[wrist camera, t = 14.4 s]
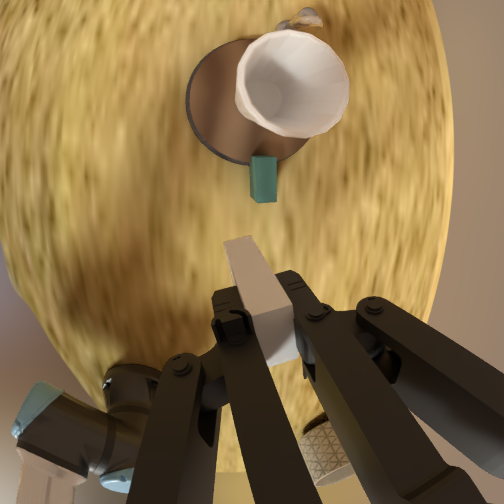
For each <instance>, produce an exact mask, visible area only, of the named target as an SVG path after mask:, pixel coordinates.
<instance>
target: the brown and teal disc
mask: <svg viewBox="0 0 504 504" xmlns="http://www.w3.org/2000/svg"><path fill="white" fill-rule="evenodd" d="M255 40H257V39H245V40H239V41H235V42H231V43H229V44H226V45H224V46H222V47H220V48H219V49H217V50H216V51H214V52H213V53H212V54H210V55H209V56H208V57H207V58H206V59H205V60H204V61H203V63H202V64H201V65H200V67H199V68H198V70H197V72H196V74H195V76H194V79H193V81H192V85H191V90H190V110H191V114H192V118H193V121H194V123H195V126H196V127H197V129H198V131H199V133H200V134H201V135H202V137H203V138H204V139H205V140H206V141H207V142H208V143H209V144H210V145H211V146H212V147H213V148H215V149H216V150H217V151H219V152H220V153H222V154H224V155H226V156H228V157H230V158H233V159H235V160H239V161H242V162H248V163H249V164H250V196H251V197H252V198H253V199H254V200H255V201H256V202H257V203H269V202H277V160H280V159H283V158H285V157H287V156H289V155H291V154H293V153H294V152H296V151H297V150H299V149H300V148H301V147H302V146H303V145H304V144H305V143H306V142H307V141H308V140H309V138H310V137H309V138H296V137H284V136H281V135H279V134H276V133H274V132H272V131H270V130H268V129H266V128H264V127H262V126H260V125H258V124H257V123H256V122H254V121H252V120H249V119H247V118H245V117H244V116H243V115H242V114H241V113H240V111H239V110H238V108H237V105H236V103H235V93H236V78H237V67H238V63H239V62H240V60H241V58H242V56H243V54H244V53H245V51H246V49H247V47H248V46H249V45H250V44H251V43H252V42H254V41H255Z"/></svg>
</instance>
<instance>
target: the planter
mask: <svg viewBox="0 0 504 504" xmlns="http://www.w3.org/2000/svg"><path fill="white" fill-rule="evenodd" d="M298 446H299V448H300V451H301V453H302V455H303V458H304V460H305V463H306V465H307V468H308V470H309V473H310V475H311V477H312V480H313V482H314V485H315V486H317V487H322V486H327V485H331V484H334V483H337V482H340V481H342V480H345V479H347V478H349V477H351V476H353V475H355V474H356V473H355V471H354V469H353V467H352V465H351V463H350V461H349V459H348V457H347V455H346V453H345V451H344V449H343V447H342V445H341V443H340V441H339V439H338V437H337V435H336V433H335V431H334V429H333V427H332V425H331V423H330V421H329V420H326V421H324V422H322V423H320V424H318V425H316V426H315V427H314V428H312V429H311V430H310V431H309V432H307V433H306V434H305V435H304V436H303V437H302V438H301V439H300V440H299V442H298Z"/></svg>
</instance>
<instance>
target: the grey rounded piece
mask: <svg viewBox="0 0 504 504" xmlns="http://www.w3.org/2000/svg"><path fill="white" fill-rule="evenodd" d="M322 28H323V20H322V18H321V17H319V16H318V15H317V12H316V11H315V10H314V9H312V8H309V7H306V8H304V9H302V10H301V11H300V12H299V13H298V14H297V15H296V16H295V17H294V18H293V19H292V20H291V21H283V22H281V23H279V24H278V26H277V27H276V31H280V30H286V29H291V30H296V31H301V30H310V31H311V30H319V29H322ZM301 32H302V31H301Z"/></svg>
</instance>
